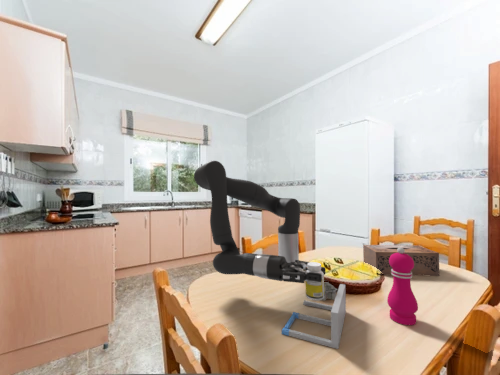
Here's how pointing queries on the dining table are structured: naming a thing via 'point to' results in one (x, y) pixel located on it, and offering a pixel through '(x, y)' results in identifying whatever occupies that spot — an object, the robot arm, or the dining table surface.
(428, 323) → the dining table surface
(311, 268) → the supplement bottle
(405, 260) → the pepper mill
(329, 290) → the egg carton
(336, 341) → the grey panel rail frame
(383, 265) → the tissue box cover
